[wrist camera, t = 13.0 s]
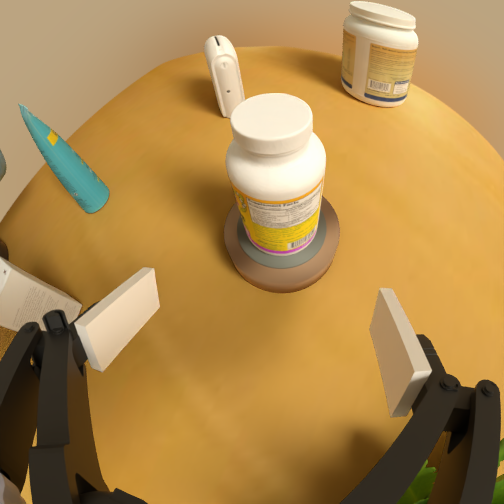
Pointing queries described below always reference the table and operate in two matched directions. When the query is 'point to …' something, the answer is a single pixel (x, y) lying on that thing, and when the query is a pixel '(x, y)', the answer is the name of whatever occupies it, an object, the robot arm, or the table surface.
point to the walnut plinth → (283, 267)
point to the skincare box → (30, 298)
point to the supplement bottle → (276, 172)
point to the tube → (67, 165)
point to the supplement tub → (378, 53)
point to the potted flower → (422, 485)
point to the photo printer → (224, 73)
